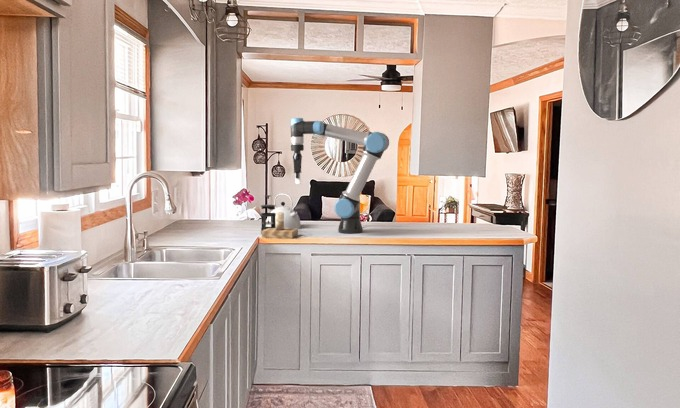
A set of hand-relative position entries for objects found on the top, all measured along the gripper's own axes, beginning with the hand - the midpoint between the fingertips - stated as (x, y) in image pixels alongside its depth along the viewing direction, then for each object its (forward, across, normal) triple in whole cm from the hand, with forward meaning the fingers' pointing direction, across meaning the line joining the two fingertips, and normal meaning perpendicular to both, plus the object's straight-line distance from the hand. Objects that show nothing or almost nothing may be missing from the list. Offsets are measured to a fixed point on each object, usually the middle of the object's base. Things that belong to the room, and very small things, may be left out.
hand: (297, 183), depth 335 cm
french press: (+30, +2, -18) cm, 35 cm away
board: (+30, +12, -8) cm, 34 cm away
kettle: (+31, -24, -16) cm, 42 cm away
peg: (+30, +12, -8) cm, 34 cm away
